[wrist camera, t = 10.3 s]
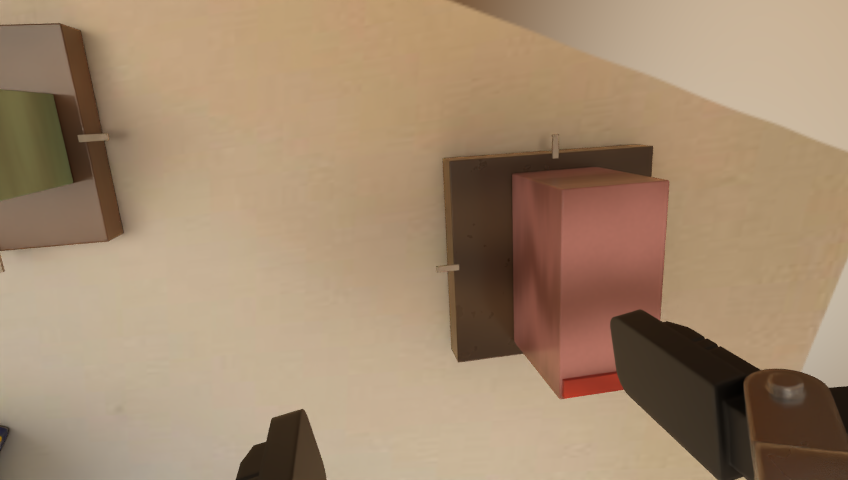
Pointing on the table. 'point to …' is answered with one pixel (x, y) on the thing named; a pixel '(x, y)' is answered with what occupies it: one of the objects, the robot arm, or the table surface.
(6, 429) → the supplement box
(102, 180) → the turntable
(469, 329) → the brown square platform
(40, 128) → the green rectangular block
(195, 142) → the table surface
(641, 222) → the pink rectangular block
